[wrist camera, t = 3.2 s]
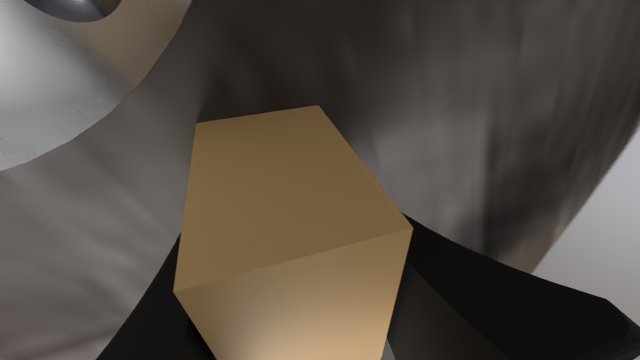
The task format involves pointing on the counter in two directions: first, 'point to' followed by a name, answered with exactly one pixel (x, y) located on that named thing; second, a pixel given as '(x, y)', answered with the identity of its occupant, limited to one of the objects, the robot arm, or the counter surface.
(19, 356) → the counter surface
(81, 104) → the gray round plate
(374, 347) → the tan rectangular block
